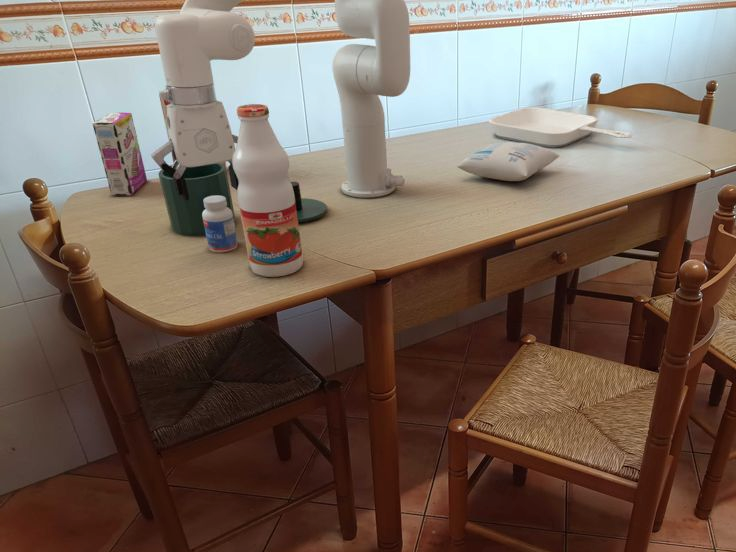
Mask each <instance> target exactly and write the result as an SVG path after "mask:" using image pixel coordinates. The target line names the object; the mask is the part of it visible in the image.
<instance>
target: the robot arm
mask: <svg viewBox="0 0 736 552" xmlns="http://www.w3.org/2000/svg"><path fill="white" fill-rule="evenodd" d="M243 1H244V0H185V1H184V3H183V4H182V7H181V9H180V11H179V13H168V14H162V15H159V16H157V17H156V18H155V20H154V30H155V36H156V41H157V46H158V49H159V50H158V51H159V54H160V60H161V65H162V69H163V75H164V79H165V83H166V85H165V89H163V90H160V91H159V92H158V96H159V95H160V97H159V99H160V98H161V100H165V99H166V100H168V101H169V102H170V104H169V105H167V123H168V134H169V139H168V141H167V142H166V143H164V144H163V145H161V146H160V147H158V148H157V149H156V150H154V151H153V152H152V153H151V154H150V155H151V159H152V160H153V161H154V162H155V163H156V164H157V165H158V167H159V168H160V170H161V169H163V170H164V171H165V172H167V173H168V174H170V175H171V176H173V180H174V185H175V189H176V193H177V195H180V197H181V198H183V199H184V200H188V199H189V195H188V190H187V185H186V181H185V178H183V177H182V174H183V173H184V171H185V169H186V167H197V166H203V165H209V164H216V163H222V162H226V163H227V162H228V163H229V165H228V167H227V168H228V174H229V179H230V185H231V187H232V188H233V189H235V190H236V191H237V189H238V185H239V181H238V178H237V176H236V174H235V172H234V169H233V164H232V157H233V154H234V152H235V149H236V145H235V144H237V141H238V136H239V135H235V134H233V133H232V129H231V125H230V121H229V118H228V115H227V112H226V109H225V106H224V103H223V102H222V101H220V100H217V94H216V88H215V83H214V82H215V81H214V76H213V70H212V65H211V61H215V60H217V61H218V60H219V61H238V60H241V59H244V58H245V57H247V56H248V55H249V54H250V53H251V52H252V51H253V49H254V46H255V43H256V35H255V31H254V28H253V27H252V24H251V23H250V22H249V21H248V20H247V19H246V18H245V17H243V16H242V15H240V14H238V13H236V12H232V10H233V9H234V8H235V7H236V6H237V5H239V4H240V3H242V2H243ZM334 10H335V18H336V24H337V26H338V29H339V30H340V32H341V33H343V34H344V35H345V36H348V37H352V38H357V39H365V40H366V39H367V40H374V41H375V45H370V44H360V43H351V44H350V43H349V44H346V45H343V46H342V47H340V48H339V49H338V50H337V51H336V52H335V54H334V56H333V59H332V74H333V79H334V82H335V86H336V90H337V93H338V98H339V103H340V104H339V106H340V113H341V124H342V125H341V126H342V134H343V145H344V147H343V148H344V157H345V170H346V181H344V182H343V183H342V184H341V186H340V188H341V192H342V194H344V195H346V196H349V197H354V198H362V199H363V198H364V199H366V198H379V197H383V196H386V195H389V194H391V193H393V192H394V191H395V189H396V187H405V185H406V184H405V183H406V179H405V178H404V176H403V175H399V174H398V175H395V174H393V173H392V168H389V167H388V159H387V156H388V155H387V140H386V125H385V123H386V118H385V110H384V106H383V104H382V100H381V99H380V97H379V96H381V97H390V98H395V97H398V96H401V95H403V94H404V92H406V90H407V88H408V86H409V83H410V79H411V25H410V14H409V10H408V6H407V4H406V1H405V0H334ZM170 153H171V157H172V156H173V158H172V160H173V159H174V160H175V161H174V163H173V162H172V164H171V165H172V167H171V166H170V164H168V163H167V161H165V157H166V156H168V155H169V154H170Z"/></svg>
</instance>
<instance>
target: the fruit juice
mask: <svg viewBox="0 0 736 552" xmlns="http://www.w3.org/2000/svg"><path fill="white" fill-rule="evenodd" d="M236 116H237V118H238V120H239V122H240V125H239V129H238V135H237V136H238V141H237V143H236V145H235V152H234V154H233V157H232V164H233V169H234V172H235V174H236V176H237V178H238V181H239V185H238V189H237V190H236V194H237V202H238V207H239V212H240V218H241V224H242V225H241V226H242V229H243V235H244V240H245V247H246V251H247V258H248V262H249V266H250V269H251V271H252V272H253V273H254V274H255V275H257V276H261V277H264V278H265V277H267V278H279V277H284V276H288V275H291V274H294V273H296V272H298V271H299V270H300V269H301V268H302V267H303V264H304V256H303V249H302V242H301V235H300V227H299V222H298V219H297V211H296V203H295V196H294V191H293V187H292V184H291V182H292V181H290V179H289V171H290V160H289V156H288V155H289V154H288V153H287V151H286V150H285V149H284V148H283V146H282V145H281V143H280V141H279V140H278V138H277V137H278V136H277V135H276V134H275V131H274V128H272V125H271V124H270V121H269V117H270V110H269V107H268V106H267V104H261V103H251V104H250V103H249V104H243V105H240V106H237V107H236Z"/></svg>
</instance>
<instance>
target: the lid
mask: <svg viewBox="0 0 736 552" xmlns="http://www.w3.org/2000/svg"><path fill="white" fill-rule="evenodd" d="M290 182H291V184H292V187H293V191H294V196H295V203H296V211H297V219H298V223H303V222H304V223H305V222H308V221H312V220H316V219H319V218H320V217H322V216H324V215H325V214H326V213H327V211H328V206H327V205H326V203H325V202H323V201H321V200H318V199H315V198H308V197H307V198H305V197H304V198H303V197H302V193H301V187H300V182H298V181H290Z"/></svg>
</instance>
